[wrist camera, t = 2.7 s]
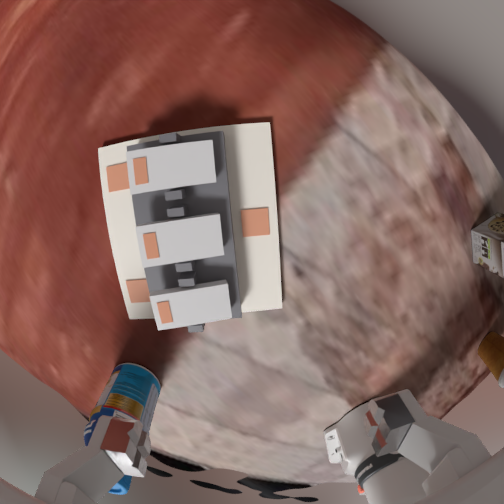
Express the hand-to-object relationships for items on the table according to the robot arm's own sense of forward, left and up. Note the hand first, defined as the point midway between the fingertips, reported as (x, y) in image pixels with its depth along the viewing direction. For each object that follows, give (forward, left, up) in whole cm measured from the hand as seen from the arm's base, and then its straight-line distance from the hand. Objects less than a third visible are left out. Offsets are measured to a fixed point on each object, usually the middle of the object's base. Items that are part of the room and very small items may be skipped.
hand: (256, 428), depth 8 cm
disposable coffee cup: (-28, -51, -26) cm, 64 cm away
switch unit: (+2, +6, -26) cm, 26 cm away
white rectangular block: (-5, +6, -20) cm, 21 cm away
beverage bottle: (-21, +19, -26) cm, 38 cm away
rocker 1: (+9, +6, -20) cm, 22 cm away
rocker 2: (+2, +6, -20) cm, 21 cm away
